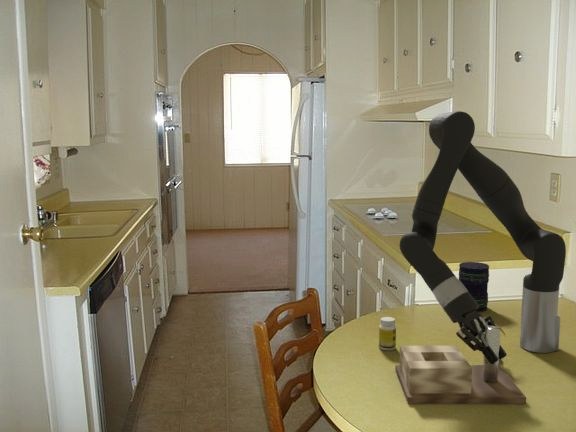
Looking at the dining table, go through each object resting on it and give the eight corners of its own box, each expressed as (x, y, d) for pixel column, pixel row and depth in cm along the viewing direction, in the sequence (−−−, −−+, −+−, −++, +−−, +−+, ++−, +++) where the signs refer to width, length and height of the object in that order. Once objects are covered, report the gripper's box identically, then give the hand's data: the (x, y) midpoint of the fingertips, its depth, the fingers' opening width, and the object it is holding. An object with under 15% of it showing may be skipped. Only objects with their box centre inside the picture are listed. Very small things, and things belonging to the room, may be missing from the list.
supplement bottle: (395, 351, 164) (396, 322, 163) (378, 350, 165) (378, 321, 164) (395, 345, 169) (396, 316, 167) (379, 344, 170) (379, 315, 168)
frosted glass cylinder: (495, 377, 143) (497, 325, 141) (499, 383, 140) (502, 330, 138) (481, 377, 143) (483, 325, 141) (485, 383, 140) (487, 330, 138)
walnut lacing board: (499, 370, 150) (499, 365, 150) (526, 403, 132) (526, 397, 132) (395, 370, 151) (395, 365, 151) (407, 403, 133) (407, 397, 133)
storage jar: (452, 304, 205) (453, 262, 203) (477, 302, 208) (479, 261, 205) (467, 313, 196) (468, 269, 193) (493, 311, 198) (495, 267, 196)
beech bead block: (455, 368, 148) (456, 345, 147) (471, 393, 134) (472, 368, 134) (399, 368, 149) (399, 345, 148) (409, 393, 135) (410, 368, 134)
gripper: (449, 297, 139) (496, 360, 132) (479, 285, 148) (524, 344, 141) (429, 313, 143) (473, 376, 136) (459, 301, 153) (502, 359, 146)
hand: (499, 359), depth 139 cm, fingers closed on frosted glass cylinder, 3 cm apart
